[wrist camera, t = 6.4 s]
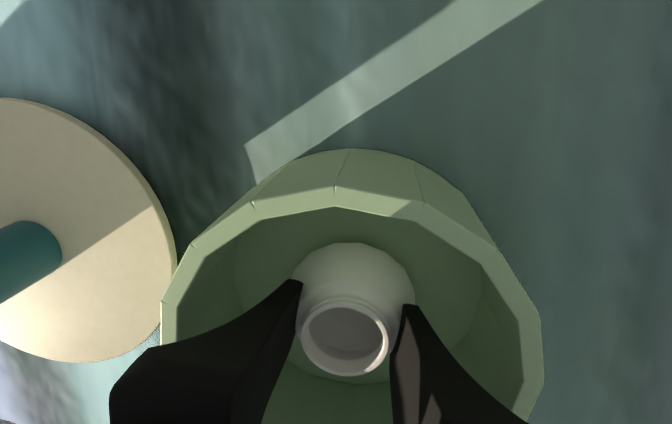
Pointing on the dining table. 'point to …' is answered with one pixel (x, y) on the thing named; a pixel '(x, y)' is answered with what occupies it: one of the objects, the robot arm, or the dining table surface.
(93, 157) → the tub lid
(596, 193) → the dining table surface
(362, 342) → the lidless jar
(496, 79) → the dining table surface
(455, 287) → the tub
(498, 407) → the robot arm
